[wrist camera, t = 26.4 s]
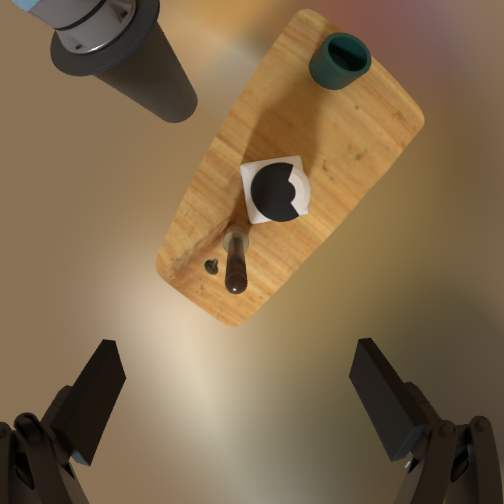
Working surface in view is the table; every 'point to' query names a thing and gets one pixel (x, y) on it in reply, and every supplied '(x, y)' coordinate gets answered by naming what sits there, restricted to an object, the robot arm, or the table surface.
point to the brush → (236, 258)
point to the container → (275, 189)
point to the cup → (339, 61)
